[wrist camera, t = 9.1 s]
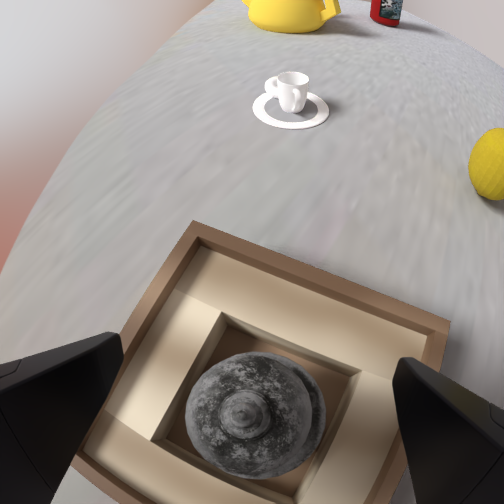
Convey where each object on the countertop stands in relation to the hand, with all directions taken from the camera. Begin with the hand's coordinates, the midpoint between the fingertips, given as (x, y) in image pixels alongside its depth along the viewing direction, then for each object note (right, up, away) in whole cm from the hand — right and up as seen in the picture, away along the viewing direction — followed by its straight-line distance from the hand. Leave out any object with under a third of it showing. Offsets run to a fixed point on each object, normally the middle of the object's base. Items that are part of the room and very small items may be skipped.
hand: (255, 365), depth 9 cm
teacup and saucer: (+6, +20, +23) cm, 31 cm away
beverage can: (+29, +54, +41) cm, 73 cm away
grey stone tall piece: (0, -5, +6) cm, 8 cm away
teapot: (+8, +47, +38) cm, 61 cm away
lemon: (+22, +9, +15) cm, 28 cm away
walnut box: (0, -6, +7) cm, 9 cm away
